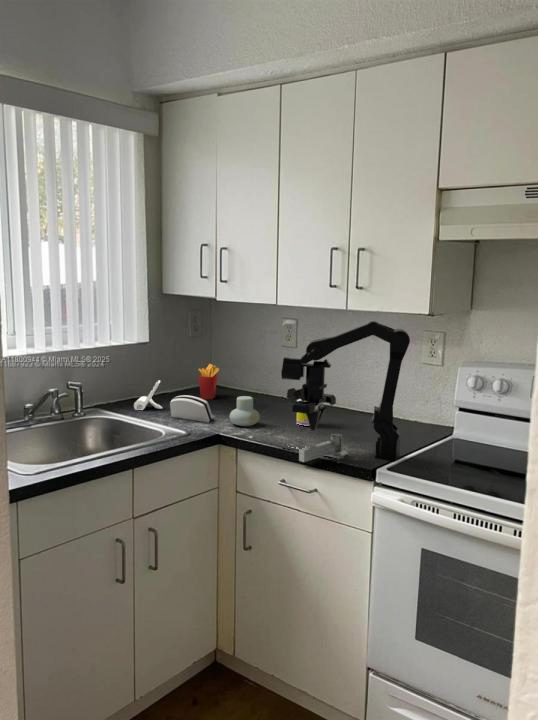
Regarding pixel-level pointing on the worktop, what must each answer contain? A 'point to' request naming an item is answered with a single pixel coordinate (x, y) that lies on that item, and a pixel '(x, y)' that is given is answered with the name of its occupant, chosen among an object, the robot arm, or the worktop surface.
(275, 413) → the worktop surface
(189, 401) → the napkin holder
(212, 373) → the french fries
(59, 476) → the worktop surface
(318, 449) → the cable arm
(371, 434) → the worktop surface
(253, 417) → the air freshener
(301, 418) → the supplement bottle
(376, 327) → the robot arm
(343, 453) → the pivot base
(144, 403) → the plastic part
